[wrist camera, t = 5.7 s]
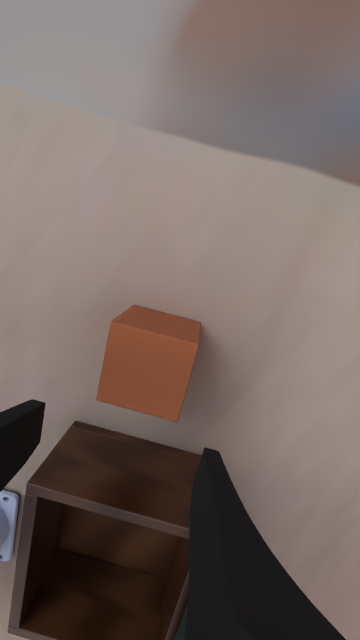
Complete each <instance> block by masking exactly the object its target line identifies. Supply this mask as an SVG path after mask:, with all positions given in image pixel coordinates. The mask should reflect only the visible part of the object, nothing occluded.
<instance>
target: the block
mask: <svg viewBox="0 0 360 640" xmlns="http://www.w3.org/2000/svg"><path fill="white" fill-rule="evenodd" d="M200 324H201V323H200V322H197V321H194V320H190V319H186V318H182V317H178V316H174V315H171V314H167V313H163V312H159V311H155V310H151V309H148V308H144V307H140V306H136V305H133V306H132V307H130V308H129V309H127V310H126V311H125V312H123V313H122V314H121V315H119V316H118V317H116V318H115V319H114V320H112V321H111V324H110V330H109V335H108V340H107V345H106V351H105V356H104V361H103V367H102V372H101V377H100V382H99V388H98V393H97V398H96V400H98V401H101V402H105V403H109V404H112V405H116V406H120V407H124V408H127V409H131V410H135V411H138V412H142V413H146V414H149V415H153V416H157V417H160V418H164V419H168V420H171V421H175V422H178V419H179V416H180V412H181V408H182V405H183V401H184V398H185V394H186V391H187V387H188V383H189V380H190V376H191V373H192V369H193V366H194V362H195V358H196V355H197V351H198V348H199V341H200Z"/></svg>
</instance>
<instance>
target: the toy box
mask: <svg viewBox="0 0 360 640" xmlns="http://www.w3.org/2000/svg"><path fill="white" fill-rule="evenodd" d="M201 457H202V456H201V455H198V454H194V453H190V452H187V451H183V450H179V449H176V448H172V447H168V446H165V445H161V444H158V443H154V442H150V441H147V440H143V439H139V438H136V437H132V436H128V435H125V434H121V433H117V432H114V431H110V430H106V429H103V428H99V427H96V426H92V425H88V424H85V423H81V422H77V421H75V422H74V423H73V424H72V426H71V427H70V428H69V429H68V431H67V432H66V433H65V435H64V436H63V437H62V438H61V440H60V441H59V442H58V444H57V445H56V446H55V448H54V449H53V450H52V451H51V453H50V454H49V455H48V457H47V458H46V459H45V460H44V462H43V463H42V464H41V466H40V467H39V468H38V469H37V471H36V472H35V473H34V475H33V476H32V477H31V479H30V480H29V481H28V482H27V486H26V494H25V500H24V508H23V516H22V524H21V531H20V539H19V547H18V555H17V562H16V570H15V578H14V586H13V594H12V601H11V609H10V617H9V626H8V633H10V634H14V635H17V636H21V637H24V638H27V639H31V640H175V637H176V634H177V631H178V628H179V626H180V623H181V620H182V617H183V615H184V612H185V609H186V606H187V603H188V591H189V536H190V503H191V494H192V486H193V482H194V479H195V476H196V473H197V470H198V467H199V463H200V460H201Z"/></svg>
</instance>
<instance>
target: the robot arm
mask: <svg viewBox="0 0 360 640" xmlns="http://www.w3.org/2000/svg"><path fill="white" fill-rule="evenodd" d="M44 410H45V403H44V402H40V401H36V400H33V399H32V400H29V401H27V402H24V403H22V404H19V405H17V406H14V407H12V408H10V409H7V410H5V411H3V412H0V560H1V561H4V562H8V561H10V559H11V557H12V554H13V546H14V538H15V530H16V521H17V513H18V505H19V496H18V495H17V494H16V493H12V492H9V491H5V490H3V488H4V487H5V486H6V485H7V484H8V483H9V482H10V480H11V479H12V478H13V477H14V476H15V475H16V474H17V472H18V471H19V470H20V469H21V468H22V467H23V465H24V464H25V463H26V462H27V460H28V459H29V457H30V456H31V455H32V453H33V452H34V450H35V449H36V447H37V446H38V444H39V443H40V439H41V431H42V424H43V417H44ZM184 640H346V639H345V638H344V637H343V636H342V635H341V634H340V633H339V632H338V631H337V630H336V629H335V628H334V626H333V625H332V624H331V623H330V622H329V621H328V620H327V619H326V618H325V617H324V616H323V615H322V614H321V612H320V611H319V610H318V609H317V608H316V607H315V606H314V605H313V604H312V602H311V601H310V600H309V599H308V598H307V597H306V595H305V594H304V593H303V592H302V591H301V589H300V588H299V587H298V586H297V585H296V583H295V582H294V581H293V580H292V578H291V577H290V576H289V575H288V573H287V572H286V571H285V569H284V568H283V567H282V565H281V564H280V563H279V561H278V560H277V558H276V557H275V556H274V554H273V553H272V552H271V550H270V549H269V547H268V546H267V544H266V543H265V541H264V540H263V538H262V537H261V535H260V533H259V532H258V530H257V529H256V527H255V525H254V524H253V522H252V520H251V519H250V517H249V515H248V513H247V511H246V509H245V508H244V506H243V504H242V502H241V500H240V498H239V496H238V494H237V492H236V490H235V488H234V486H233V483H232V481H231V479H230V477H229V474H228V472H227V470H226V467H225V465H224V463H223V460H222V458H221V455H220V453H219V451H216V450H213V449H209V448H206V447H205V448H204V451H203V454H202V457H201V460H200V463H199V467H198V470H197V473H196V476H195V479H194V482H193V486H192V494H191V503H190V536H189V591H188V603H187V615H186V626H185V637H184Z"/></svg>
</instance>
